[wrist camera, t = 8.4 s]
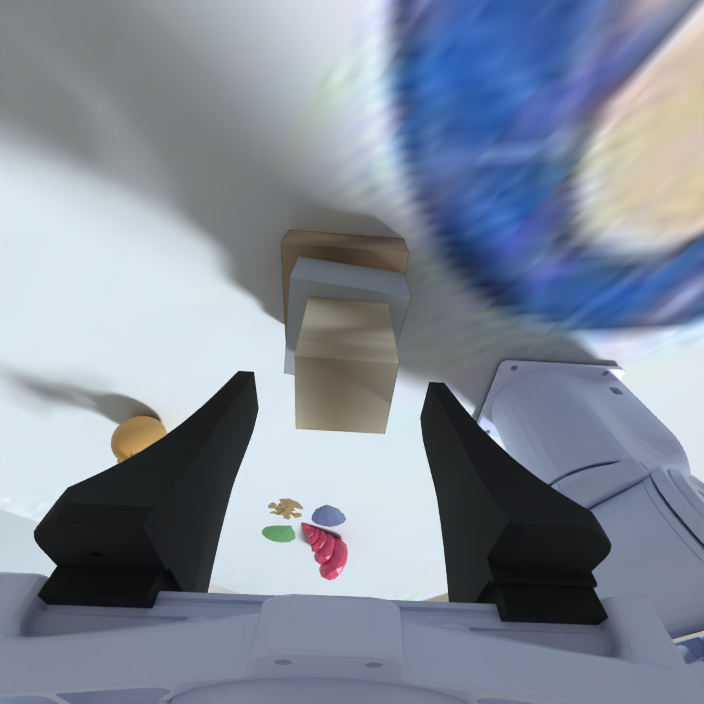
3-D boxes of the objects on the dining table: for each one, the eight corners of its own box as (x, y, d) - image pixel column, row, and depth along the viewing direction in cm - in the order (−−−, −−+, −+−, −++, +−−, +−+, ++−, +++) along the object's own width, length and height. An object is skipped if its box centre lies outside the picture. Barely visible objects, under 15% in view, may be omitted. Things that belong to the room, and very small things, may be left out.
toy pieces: (376, 515, 39) (378, 556, 35) (329, 554, 45) (326, 593, 41) (280, 482, 36) (272, 523, 32) (242, 529, 41) (231, 569, 37)
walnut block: (402, 236, 21) (408, 252, 19) (387, 332, 25) (391, 355, 23) (289, 227, 21) (280, 243, 18) (293, 325, 25) (286, 348, 22)
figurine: (171, 392, 28) (71, 542, 18) (218, 436, 31) (154, 585, 21) (100, 422, 30) (-25, 571, 20) (150, 461, 33) (63, 606, 23)
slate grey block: (404, 273, 19) (411, 296, 17) (381, 357, 23) (384, 387, 20) (298, 255, 19) (290, 277, 16) (292, 344, 22) (284, 373, 20)
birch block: (387, 303, 17) (399, 363, 13) (377, 366, 19) (384, 433, 15) (308, 297, 17) (294, 355, 13) (307, 361, 19) (295, 428, 15)
